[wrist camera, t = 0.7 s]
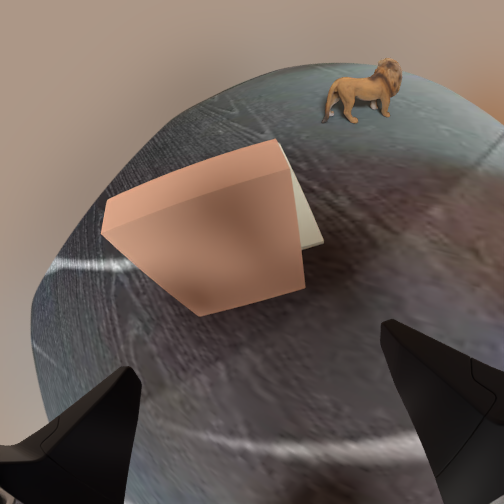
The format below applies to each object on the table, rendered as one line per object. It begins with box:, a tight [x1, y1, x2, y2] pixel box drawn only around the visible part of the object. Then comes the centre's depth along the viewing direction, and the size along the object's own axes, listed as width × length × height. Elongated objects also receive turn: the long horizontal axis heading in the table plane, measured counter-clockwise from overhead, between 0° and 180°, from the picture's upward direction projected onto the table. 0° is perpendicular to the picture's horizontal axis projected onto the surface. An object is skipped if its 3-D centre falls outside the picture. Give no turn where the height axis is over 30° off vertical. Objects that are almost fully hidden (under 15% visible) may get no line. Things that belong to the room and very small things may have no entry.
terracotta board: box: [101, 139, 305, 317], centre depth 19 cm, size 2×10×14 cm, turn 102°
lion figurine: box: [322, 58, 402, 123], centre depth 31 cm, size 15×5×9 cm, turn 111°
